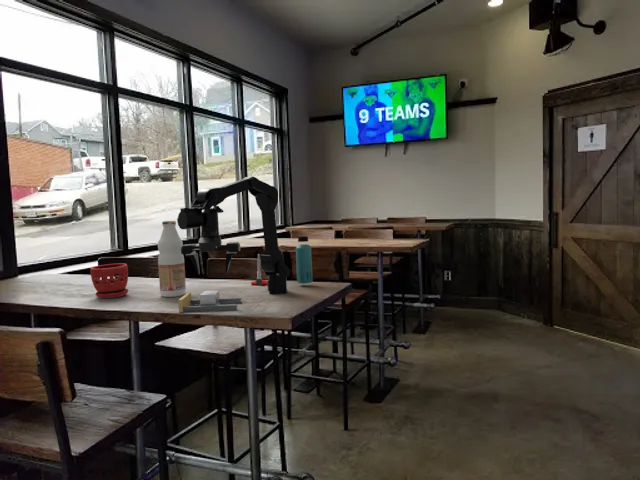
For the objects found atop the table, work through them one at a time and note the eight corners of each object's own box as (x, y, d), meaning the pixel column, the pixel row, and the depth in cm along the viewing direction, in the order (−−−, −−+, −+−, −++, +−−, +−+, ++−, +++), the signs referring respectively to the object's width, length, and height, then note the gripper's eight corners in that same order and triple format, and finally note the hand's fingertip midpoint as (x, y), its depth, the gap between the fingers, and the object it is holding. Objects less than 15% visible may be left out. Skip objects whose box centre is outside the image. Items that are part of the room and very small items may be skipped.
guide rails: (241, 302, 172) (240, 290, 172) (236, 309, 160) (235, 297, 160) (187, 304, 172) (187, 292, 172) (179, 312, 159) (178, 299, 159)
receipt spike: (255, 282, 215) (248, 285, 206) (254, 252, 215) (248, 254, 206) (274, 282, 214) (268, 285, 205) (273, 252, 214) (268, 254, 205)
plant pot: (112, 292, 200) (110, 262, 199) (136, 294, 194) (135, 263, 193) (84, 298, 189) (82, 267, 188) (109, 300, 183) (107, 268, 182)
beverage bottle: (307, 287, 196) (305, 236, 195) (293, 286, 200) (291, 236, 198) (316, 285, 202) (314, 235, 200) (302, 284, 205) (300, 235, 204)
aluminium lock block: (219, 305, 169) (218, 290, 169) (215, 309, 162) (215, 294, 162) (204, 305, 169) (204, 290, 169) (200, 310, 162) (199, 294, 162)
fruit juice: (157, 297, 185) (152, 222, 183) (164, 293, 195) (159, 221, 193) (182, 296, 186) (178, 221, 183) (188, 292, 195) (184, 220, 193)
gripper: (175, 230, 157) (178, 279, 158) (235, 227, 158) (237, 276, 159) (183, 227, 168) (186, 273, 169) (239, 225, 169) (241, 271, 170)
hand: (212, 274), depth 167 cm, fingers open, 9 cm apart
